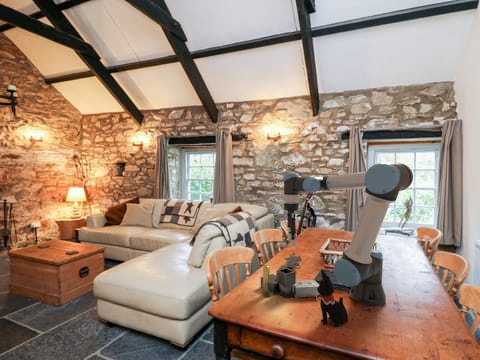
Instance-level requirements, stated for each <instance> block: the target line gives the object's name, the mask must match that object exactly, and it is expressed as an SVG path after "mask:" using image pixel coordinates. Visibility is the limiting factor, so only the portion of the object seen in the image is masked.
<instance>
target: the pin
mask: <svg viewBox="0 0 480 360" xmlns="http://www.w3.org/2000/svg"><path fill="white" fill-rule="evenodd" d="M262 277H263V288H262V296H263V297H265V298H269V297H270V292H269V278H270V265H267V264H266V265H263V266H262Z"/></svg>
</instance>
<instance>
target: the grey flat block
mask: <svg viewBox="0 0 480 360" xmlns="http://www.w3.org/2000/svg"><path fill="white" fill-rule="evenodd" d="M318 286H319V283H318V282H317V281H316V280H315V279H302V280H296V284H293V296H294V297H295V298H310V297H311V298H312V297H316V296H317V295H319V293H318V291H317V288H318Z"/></svg>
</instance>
